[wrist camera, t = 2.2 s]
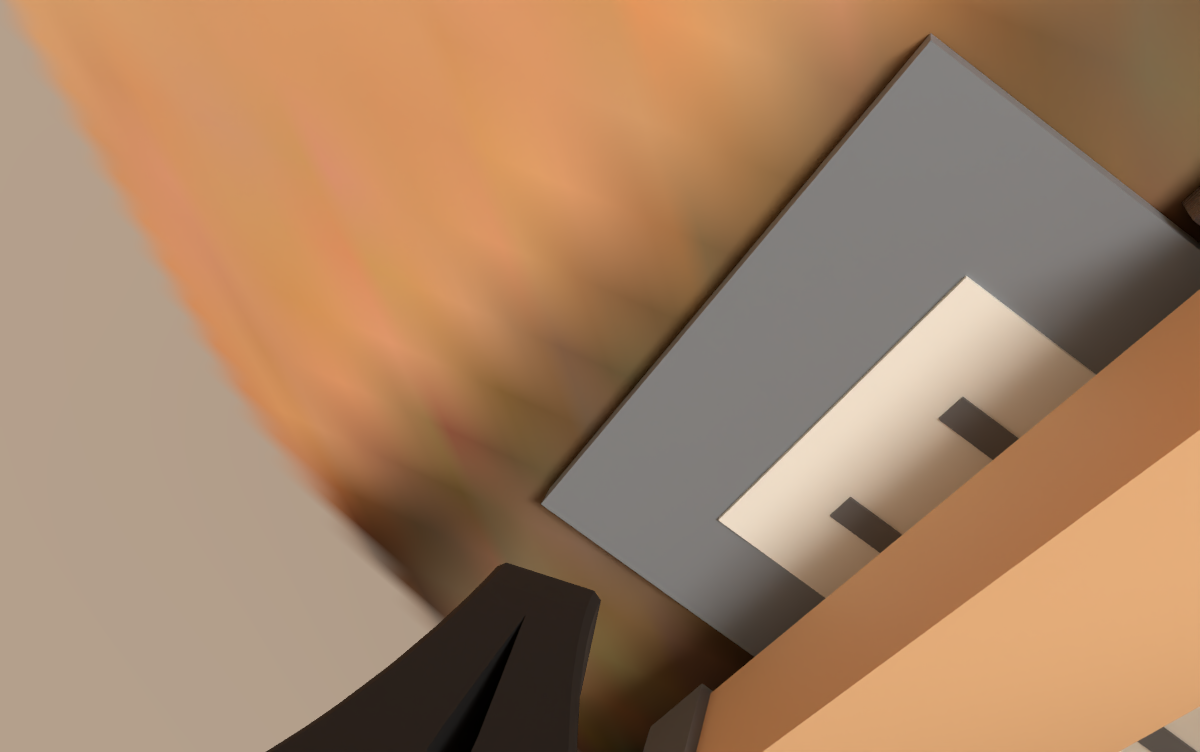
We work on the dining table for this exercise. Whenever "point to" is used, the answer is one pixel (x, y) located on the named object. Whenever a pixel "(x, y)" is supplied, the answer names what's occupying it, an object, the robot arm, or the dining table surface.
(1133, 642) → the tan wooden bar
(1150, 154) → the dining table surface
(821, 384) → the label plate
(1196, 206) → the arm mount
